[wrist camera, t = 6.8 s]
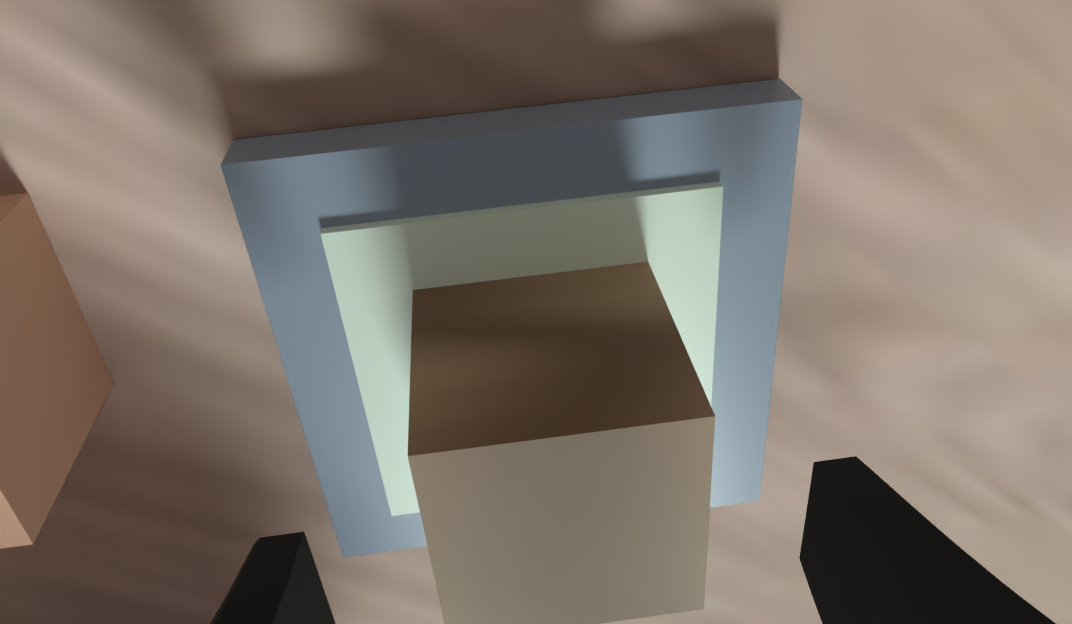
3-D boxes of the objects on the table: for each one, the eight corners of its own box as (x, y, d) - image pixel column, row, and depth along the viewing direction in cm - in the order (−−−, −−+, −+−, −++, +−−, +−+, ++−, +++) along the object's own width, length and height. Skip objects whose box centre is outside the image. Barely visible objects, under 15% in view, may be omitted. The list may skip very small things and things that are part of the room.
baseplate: (347, 521, 18) (342, 564, 17) (233, 140, 13) (218, 169, 12) (745, 468, 19) (762, 508, 18) (779, 78, 14) (807, 103, 13)
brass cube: (445, 462, 16) (449, 644, 13) (412, 289, 14) (407, 456, 11) (647, 436, 16) (703, 609, 13) (648, 261, 14) (715, 416, 11)
